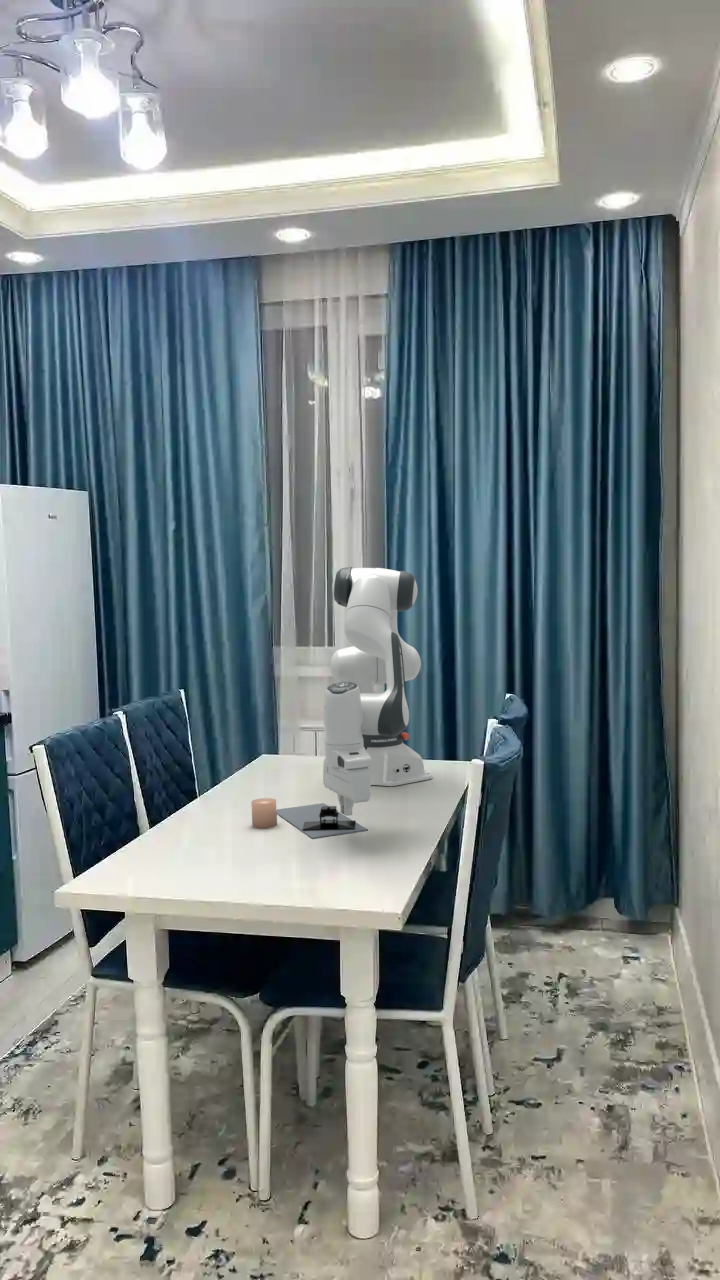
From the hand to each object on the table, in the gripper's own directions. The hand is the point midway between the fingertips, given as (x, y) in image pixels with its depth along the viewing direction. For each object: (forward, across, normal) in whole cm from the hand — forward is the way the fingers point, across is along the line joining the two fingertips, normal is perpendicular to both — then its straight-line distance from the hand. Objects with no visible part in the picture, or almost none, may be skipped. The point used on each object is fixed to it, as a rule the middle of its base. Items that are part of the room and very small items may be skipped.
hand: (346, 814), depth 229 cm
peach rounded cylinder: (+6, -21, -13) cm, 26 cm away
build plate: (+6, -11, 0) cm, 13 cm away
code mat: (+6, -19, 0) cm, 20 cm away
